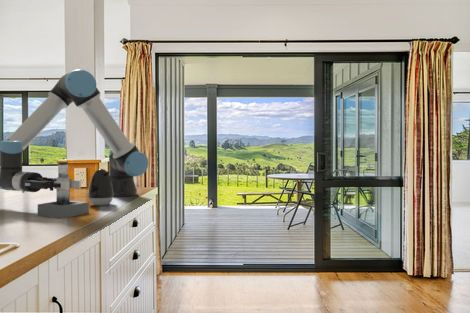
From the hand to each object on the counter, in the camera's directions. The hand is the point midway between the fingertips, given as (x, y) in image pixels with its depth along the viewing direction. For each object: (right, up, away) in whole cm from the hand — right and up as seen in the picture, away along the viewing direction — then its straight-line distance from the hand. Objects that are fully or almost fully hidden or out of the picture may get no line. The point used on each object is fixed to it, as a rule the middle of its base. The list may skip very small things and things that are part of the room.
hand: (74, 185), depth 134 cm
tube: (-5, -8, +2) cm, 10 cm away
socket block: (-5, -11, +3) cm, 12 cm away
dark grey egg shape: (+1, -10, +24) cm, 26 cm away
